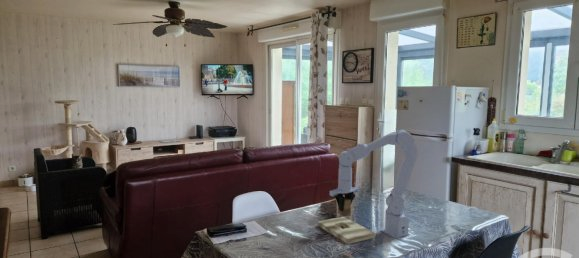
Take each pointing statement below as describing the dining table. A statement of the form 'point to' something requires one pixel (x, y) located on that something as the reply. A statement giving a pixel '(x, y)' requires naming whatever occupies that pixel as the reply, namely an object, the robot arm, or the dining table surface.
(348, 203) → the walnut flat peg
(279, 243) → the dining table surface
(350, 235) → the slot board
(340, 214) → the metal round peg
